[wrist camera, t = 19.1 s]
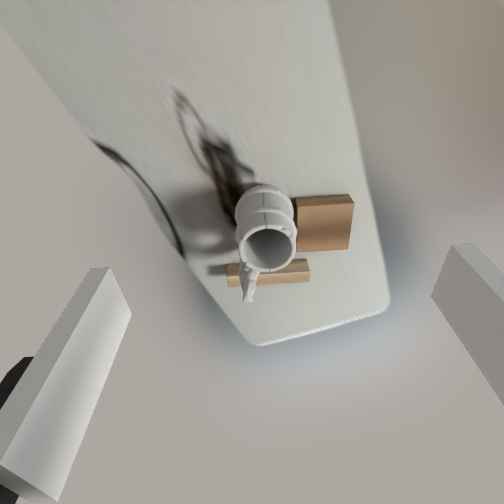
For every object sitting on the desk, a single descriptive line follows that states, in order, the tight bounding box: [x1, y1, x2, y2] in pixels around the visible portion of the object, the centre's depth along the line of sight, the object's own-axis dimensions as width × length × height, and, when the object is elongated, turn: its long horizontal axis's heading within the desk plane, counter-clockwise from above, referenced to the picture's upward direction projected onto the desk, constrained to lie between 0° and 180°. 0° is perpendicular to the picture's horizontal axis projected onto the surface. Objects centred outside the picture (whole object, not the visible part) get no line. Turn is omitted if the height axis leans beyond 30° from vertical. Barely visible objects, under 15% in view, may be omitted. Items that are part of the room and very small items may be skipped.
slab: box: [295, 194, 354, 252], centre depth 41 cm, size 7×7×3 cm
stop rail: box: [226, 259, 310, 287], centre depth 45 cm, size 2×12×3 cm, turn 94°
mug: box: [235, 184, 297, 303], centre depth 37 cm, size 8×12×12 cm, turn 159°
